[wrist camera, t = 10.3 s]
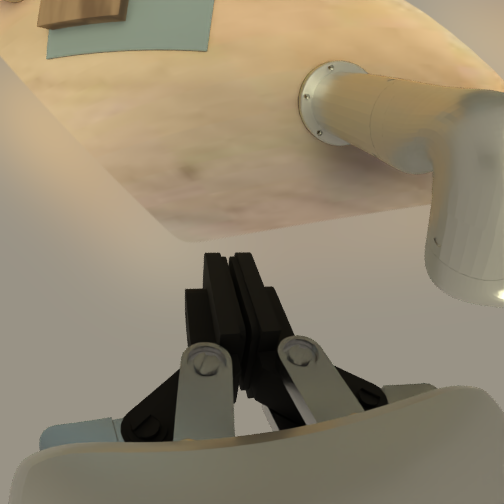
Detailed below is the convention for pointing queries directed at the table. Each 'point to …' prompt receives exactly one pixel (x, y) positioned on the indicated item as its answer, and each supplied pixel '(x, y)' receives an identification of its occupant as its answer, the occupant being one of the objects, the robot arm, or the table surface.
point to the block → (80, 12)
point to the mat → (140, 30)
